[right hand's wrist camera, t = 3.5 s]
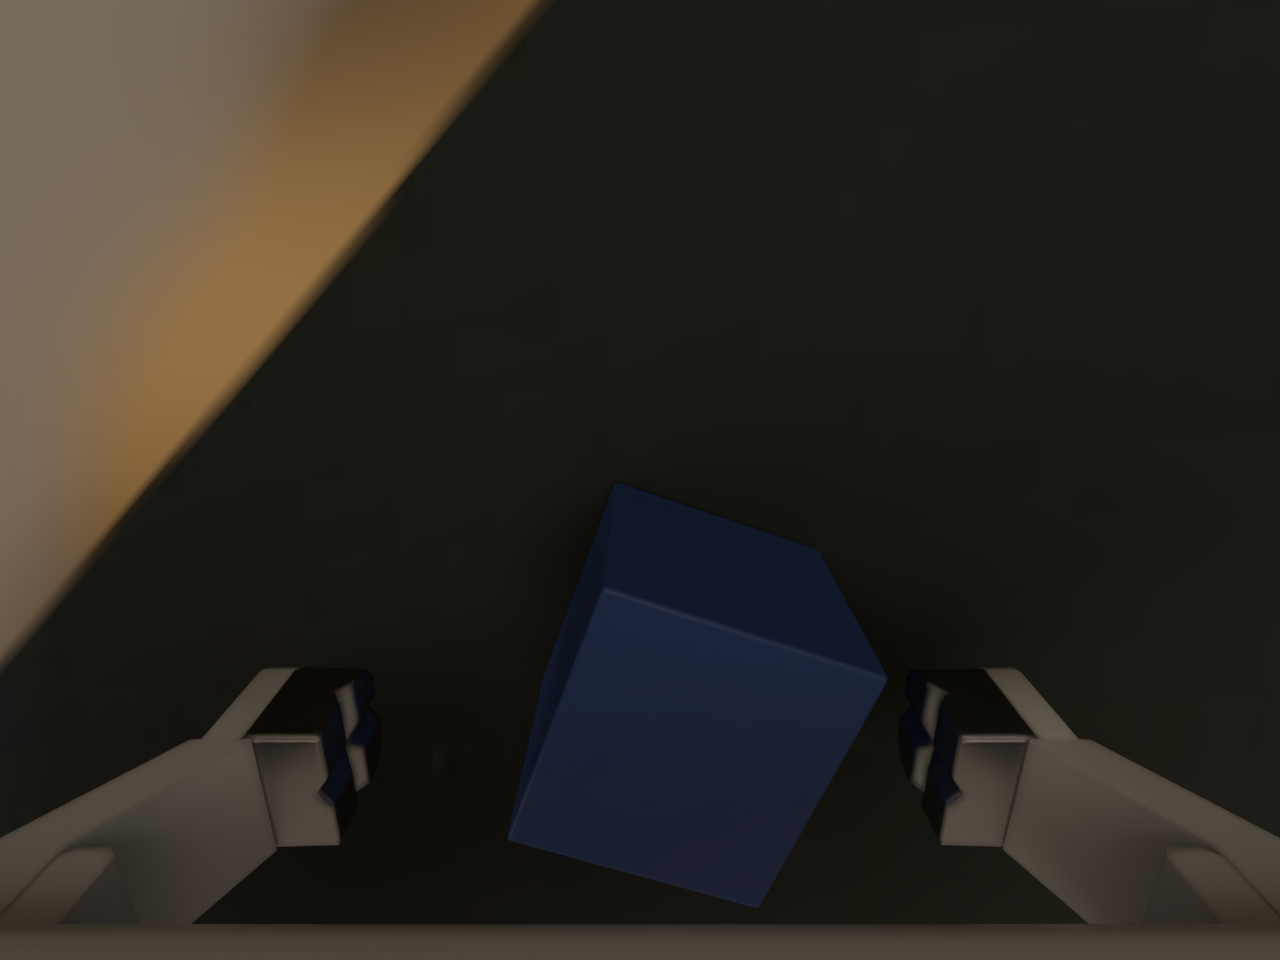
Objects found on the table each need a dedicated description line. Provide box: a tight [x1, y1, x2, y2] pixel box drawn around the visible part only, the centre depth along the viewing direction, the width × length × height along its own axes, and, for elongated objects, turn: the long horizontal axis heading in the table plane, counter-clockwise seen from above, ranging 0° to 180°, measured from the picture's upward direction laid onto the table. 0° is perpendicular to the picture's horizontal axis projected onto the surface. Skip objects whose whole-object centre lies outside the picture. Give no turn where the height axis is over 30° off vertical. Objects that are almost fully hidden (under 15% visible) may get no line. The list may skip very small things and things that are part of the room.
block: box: [508, 483, 888, 908], centre depth 12 cm, size 5×4×4 cm
